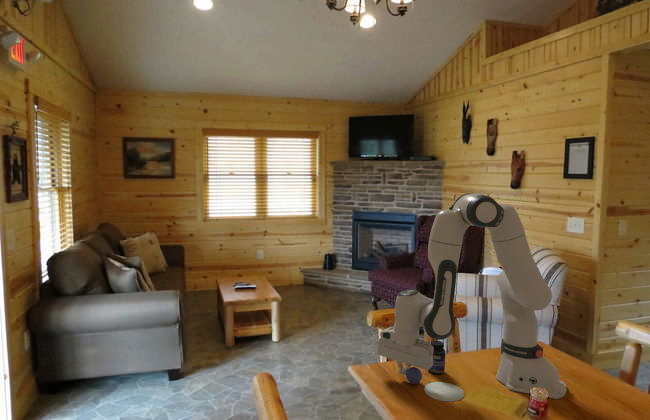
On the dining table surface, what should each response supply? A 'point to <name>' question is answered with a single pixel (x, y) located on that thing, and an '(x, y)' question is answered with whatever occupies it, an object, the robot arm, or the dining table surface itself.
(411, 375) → the ball
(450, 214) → the robot arm
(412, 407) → the dining table surface
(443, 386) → the disc
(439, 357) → the pill bottle
